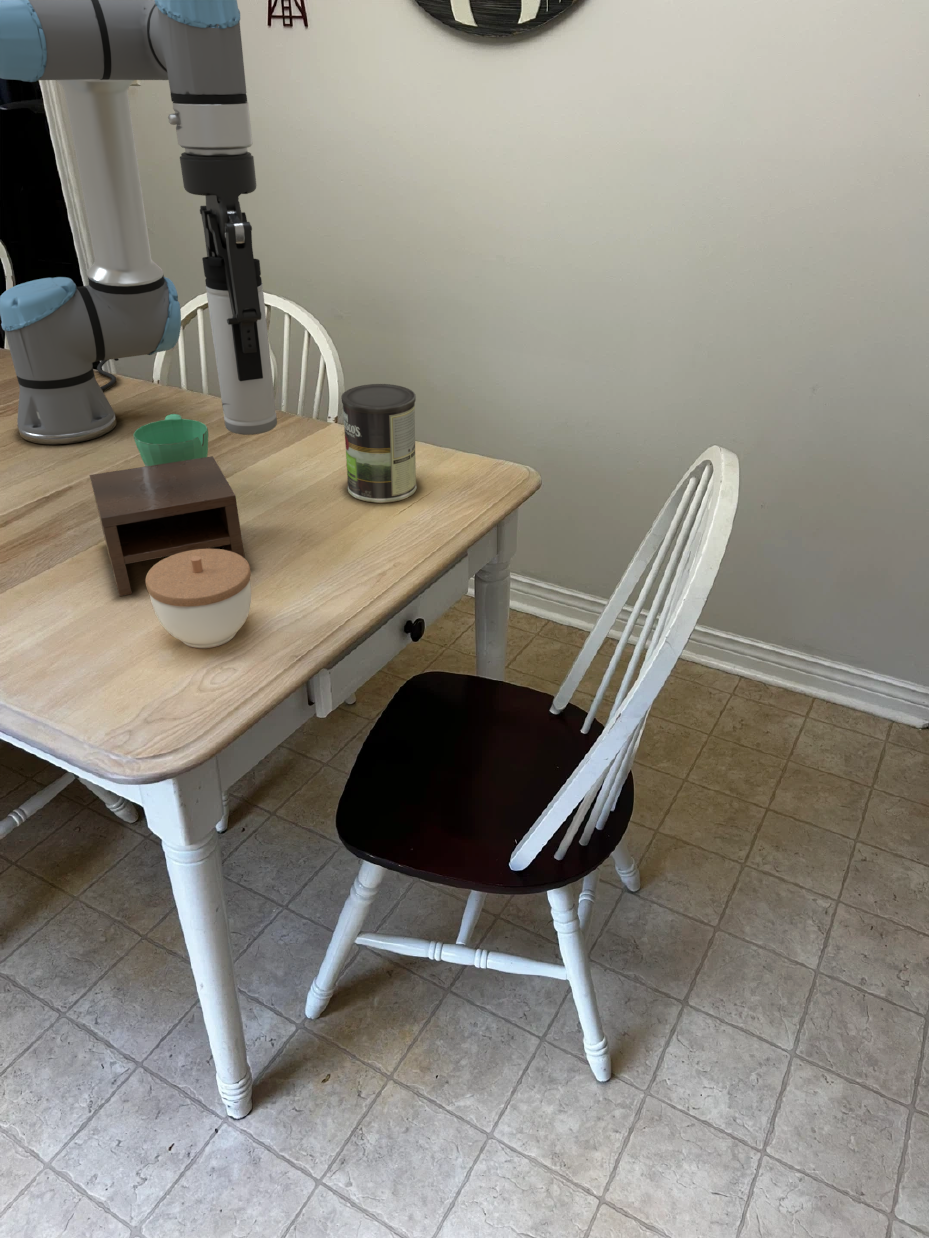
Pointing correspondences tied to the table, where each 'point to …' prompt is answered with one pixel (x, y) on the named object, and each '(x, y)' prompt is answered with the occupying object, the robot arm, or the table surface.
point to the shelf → (165, 512)
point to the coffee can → (380, 442)
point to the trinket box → (201, 595)
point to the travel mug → (241, 400)
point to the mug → (171, 440)
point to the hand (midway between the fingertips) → (243, 370)
